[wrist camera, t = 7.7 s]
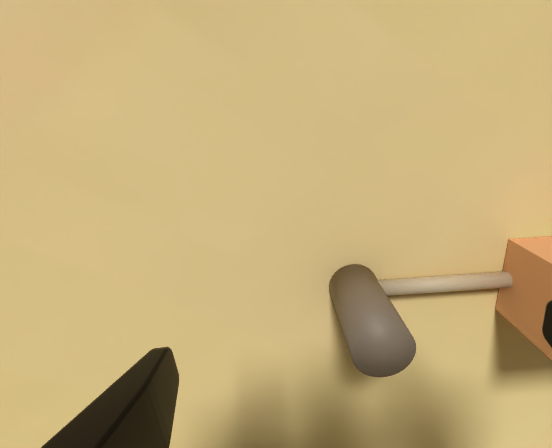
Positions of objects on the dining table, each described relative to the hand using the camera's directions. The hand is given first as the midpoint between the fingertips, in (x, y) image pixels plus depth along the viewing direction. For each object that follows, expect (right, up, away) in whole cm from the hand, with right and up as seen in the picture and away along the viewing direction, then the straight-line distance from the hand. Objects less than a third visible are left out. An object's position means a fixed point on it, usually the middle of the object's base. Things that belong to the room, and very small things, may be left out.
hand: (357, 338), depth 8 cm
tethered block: (+9, -1, +13) cm, 16 cm away
